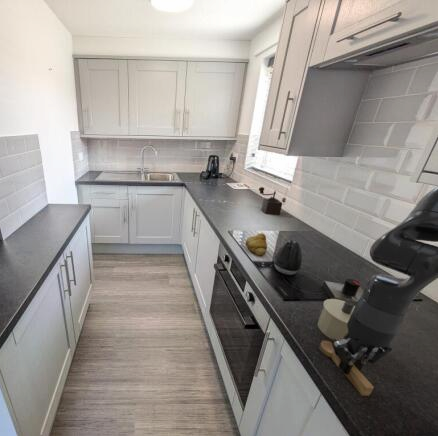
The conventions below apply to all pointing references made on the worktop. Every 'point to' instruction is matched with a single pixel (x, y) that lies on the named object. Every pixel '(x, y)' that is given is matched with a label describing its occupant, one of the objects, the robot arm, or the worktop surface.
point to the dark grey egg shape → (288, 258)
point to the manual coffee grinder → (270, 204)
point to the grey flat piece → (341, 292)
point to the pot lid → (339, 309)
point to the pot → (331, 326)
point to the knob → (351, 287)
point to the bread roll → (257, 244)
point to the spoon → (354, 374)
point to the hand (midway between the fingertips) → (347, 370)
